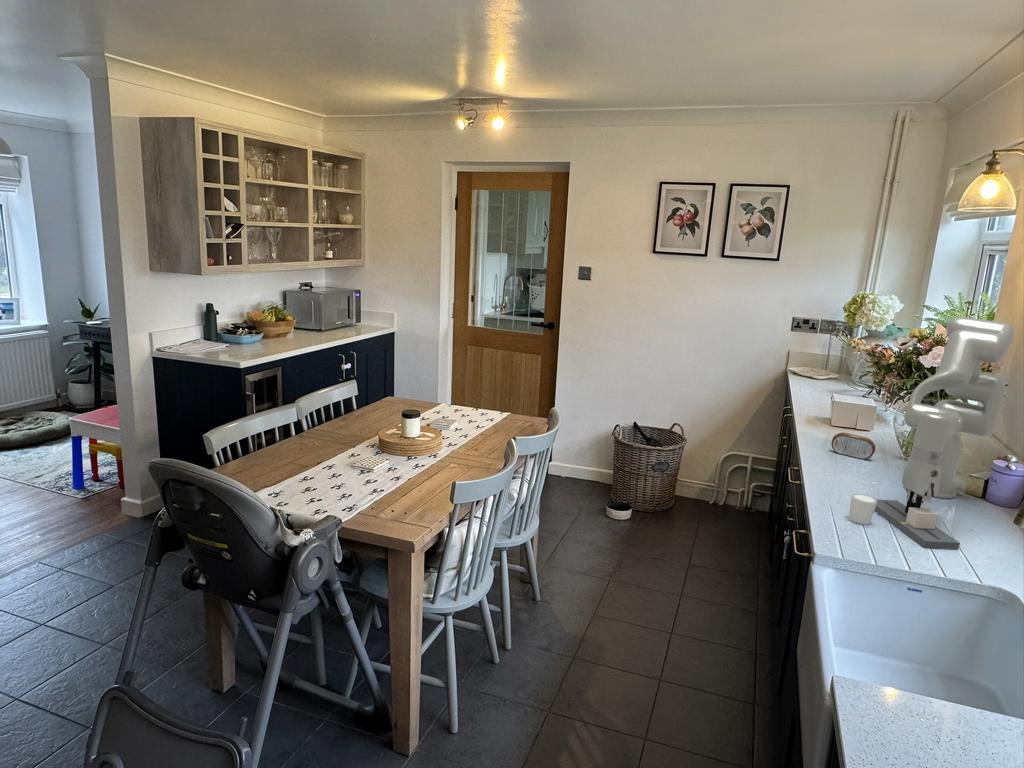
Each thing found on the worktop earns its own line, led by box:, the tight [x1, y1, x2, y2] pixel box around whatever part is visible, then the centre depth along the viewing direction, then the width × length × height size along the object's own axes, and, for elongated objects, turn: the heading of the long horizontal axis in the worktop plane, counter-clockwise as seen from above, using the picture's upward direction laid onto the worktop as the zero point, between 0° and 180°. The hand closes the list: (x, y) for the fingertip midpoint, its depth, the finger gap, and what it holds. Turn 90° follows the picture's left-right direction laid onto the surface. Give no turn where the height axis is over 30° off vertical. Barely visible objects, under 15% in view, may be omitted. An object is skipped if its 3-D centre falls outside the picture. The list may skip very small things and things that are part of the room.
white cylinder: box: [848, 493, 877, 525], centre depth 199 cm, size 7×7×7 cm
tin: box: [830, 432, 876, 461], centre depth 258 cm, size 15×3×8 cm, turn 58°
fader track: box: [874, 498, 961, 550], centre depth 199 cm, size 28×10×2 cm, turn 4°
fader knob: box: [906, 507, 939, 529], centre depth 194 cm, size 4×6×4 cm, turn 94°
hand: (911, 514), depth 198 cm, fingers closed
